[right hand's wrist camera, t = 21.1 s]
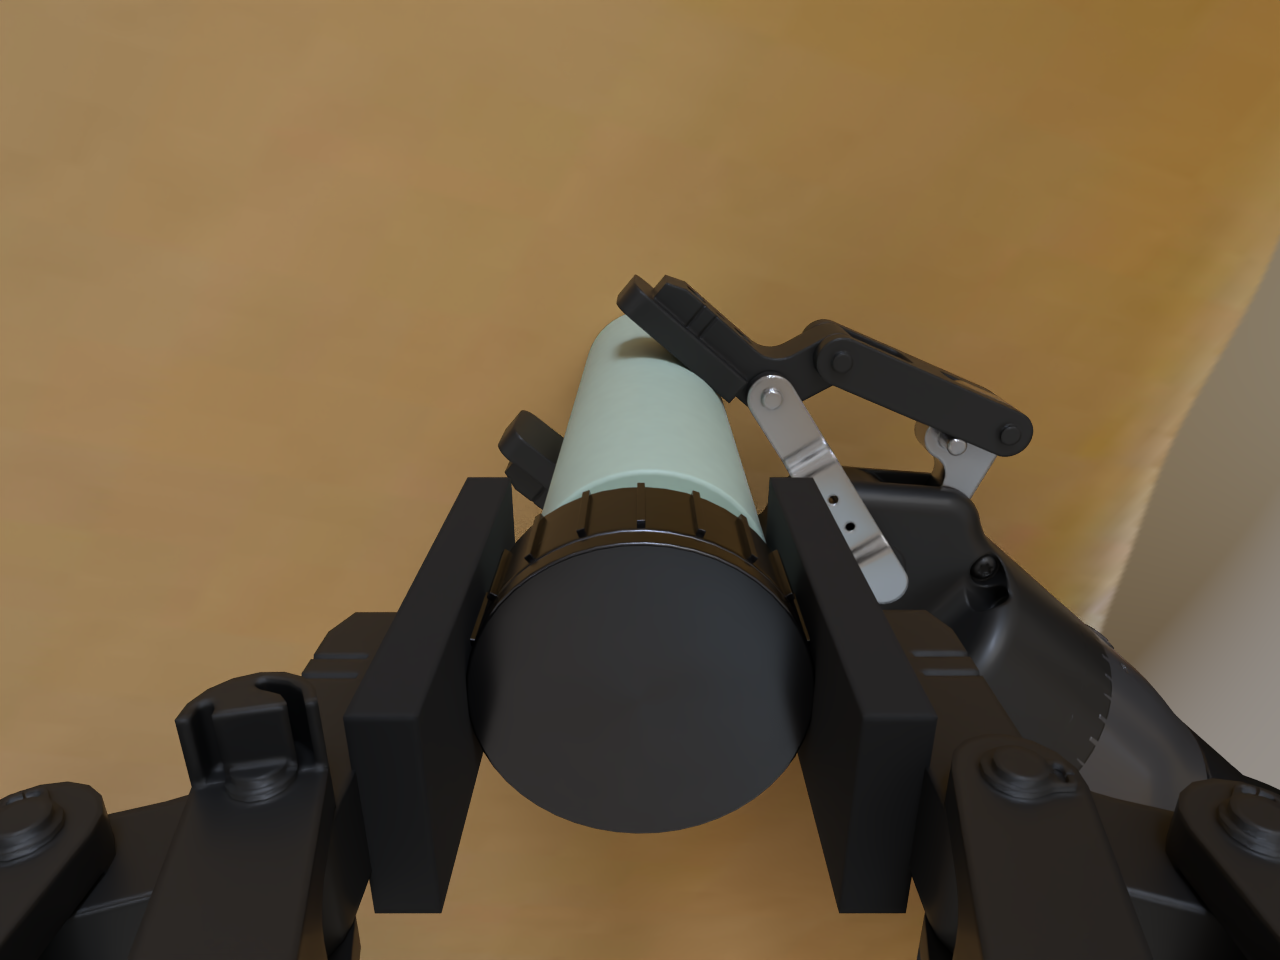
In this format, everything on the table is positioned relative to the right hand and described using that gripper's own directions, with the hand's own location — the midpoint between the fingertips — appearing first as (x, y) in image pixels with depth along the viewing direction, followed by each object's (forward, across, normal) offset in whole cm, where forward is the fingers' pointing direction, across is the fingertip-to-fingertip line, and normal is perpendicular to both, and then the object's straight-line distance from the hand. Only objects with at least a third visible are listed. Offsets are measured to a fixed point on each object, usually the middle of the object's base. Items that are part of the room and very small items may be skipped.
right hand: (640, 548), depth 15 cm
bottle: (+14, 0, 0) cm, 14 cm away
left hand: (+8, -2, +2) cm, 8 cm away
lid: (-4, 0, 0) cm, 4 cm away
